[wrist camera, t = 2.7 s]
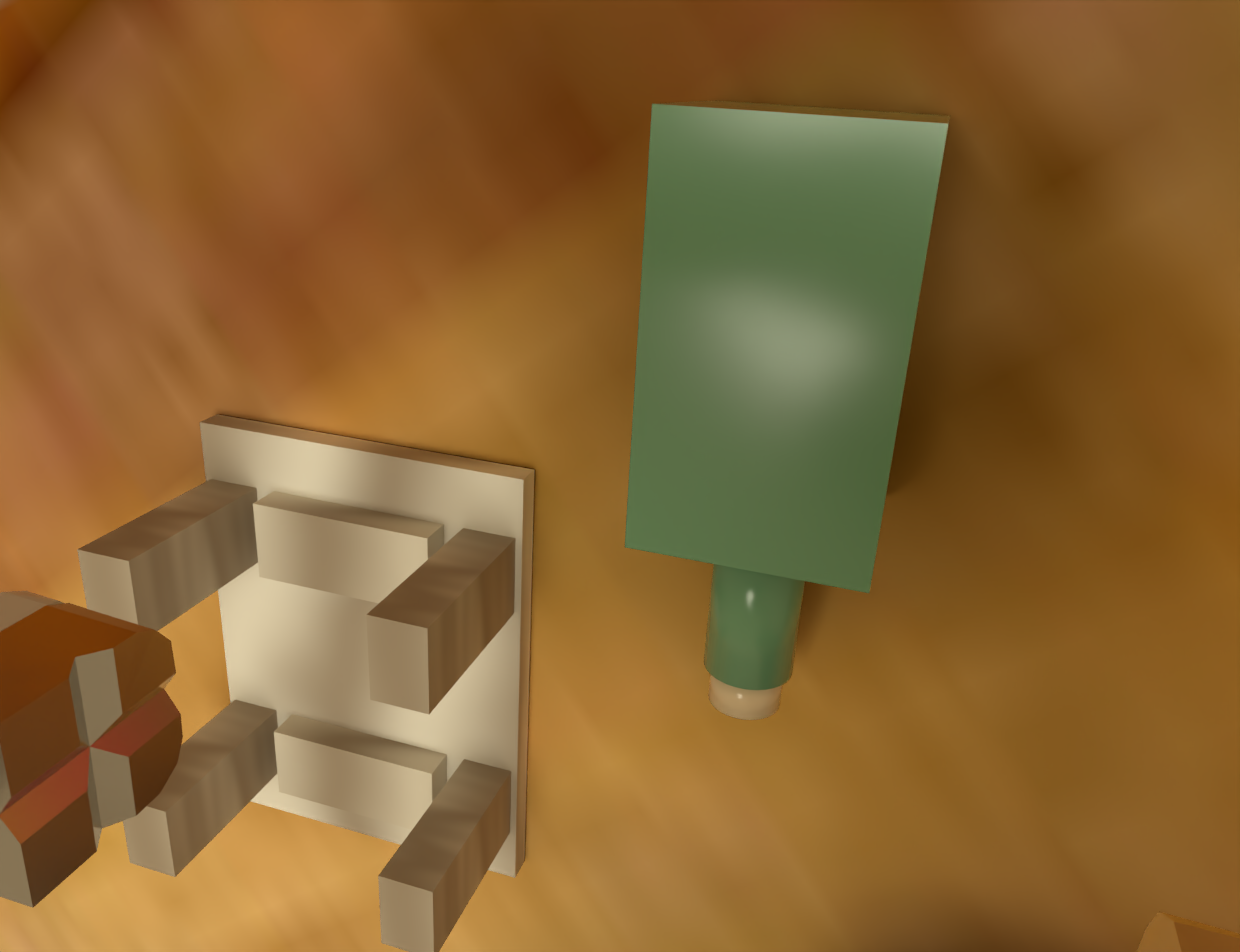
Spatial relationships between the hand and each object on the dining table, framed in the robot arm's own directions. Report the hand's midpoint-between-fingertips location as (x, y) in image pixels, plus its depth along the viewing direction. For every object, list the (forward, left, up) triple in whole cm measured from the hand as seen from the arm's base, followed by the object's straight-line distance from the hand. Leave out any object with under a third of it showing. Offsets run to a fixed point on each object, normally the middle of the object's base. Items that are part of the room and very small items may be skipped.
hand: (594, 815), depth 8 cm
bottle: (+1, +2, -18) cm, 18 cm away
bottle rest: (+13, +12, -18) cm, 25 cm away
